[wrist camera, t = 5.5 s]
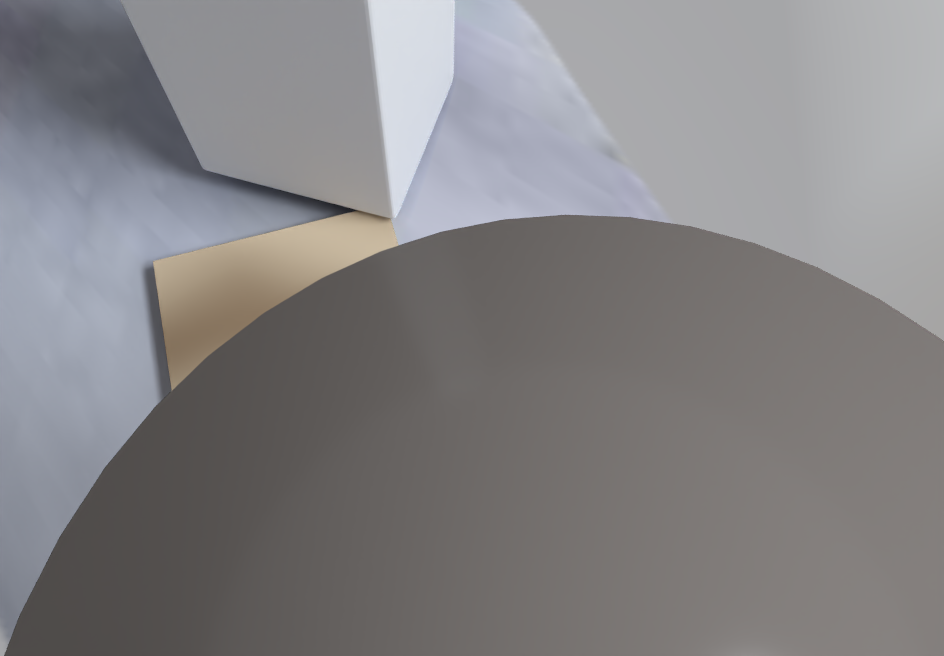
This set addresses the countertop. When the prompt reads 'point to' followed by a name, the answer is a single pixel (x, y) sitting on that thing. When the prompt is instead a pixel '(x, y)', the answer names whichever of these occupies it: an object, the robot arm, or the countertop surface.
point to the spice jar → (528, 465)
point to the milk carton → (305, 89)
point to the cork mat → (253, 280)
